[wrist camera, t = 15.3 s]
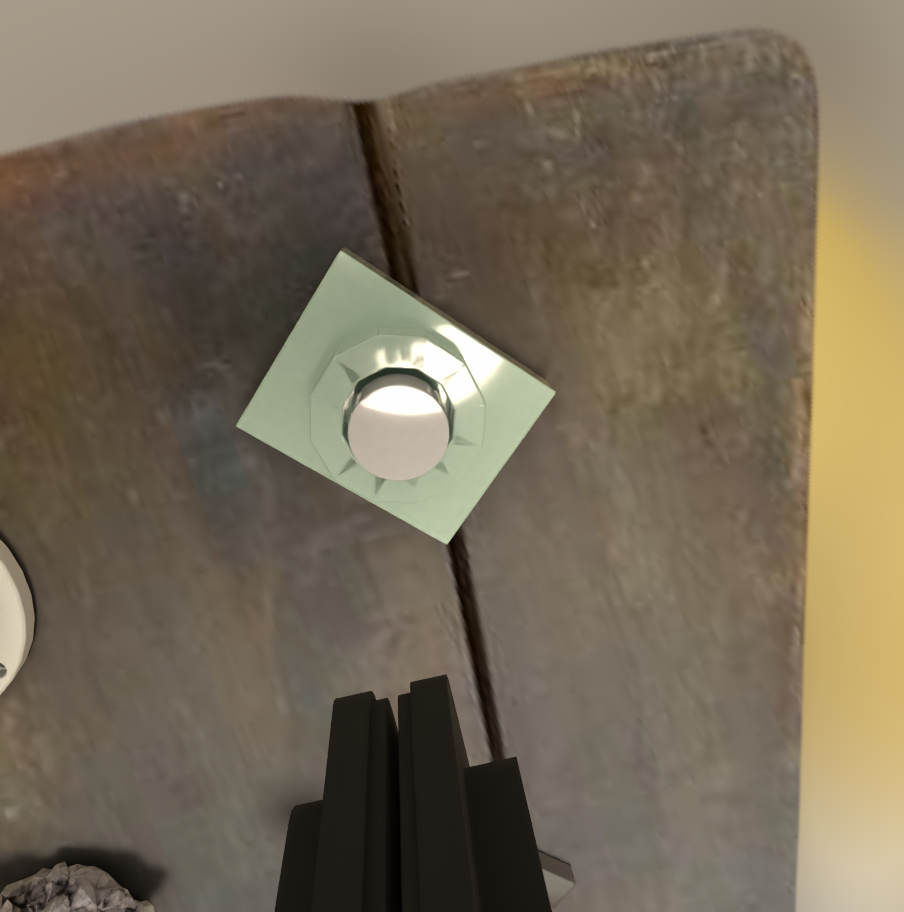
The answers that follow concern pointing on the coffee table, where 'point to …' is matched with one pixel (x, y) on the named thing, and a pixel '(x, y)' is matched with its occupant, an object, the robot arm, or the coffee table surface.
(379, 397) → the flush button
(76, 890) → the mineral specimen
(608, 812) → the coffee table surface
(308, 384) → the button base plate
